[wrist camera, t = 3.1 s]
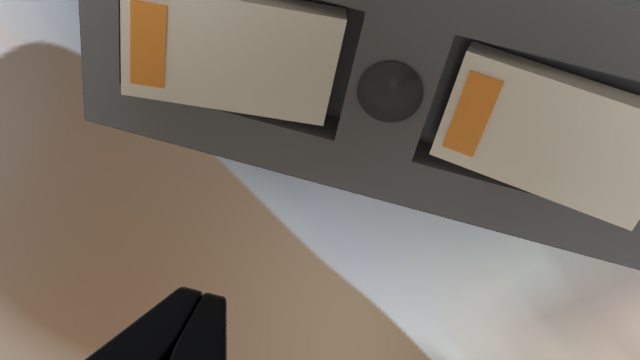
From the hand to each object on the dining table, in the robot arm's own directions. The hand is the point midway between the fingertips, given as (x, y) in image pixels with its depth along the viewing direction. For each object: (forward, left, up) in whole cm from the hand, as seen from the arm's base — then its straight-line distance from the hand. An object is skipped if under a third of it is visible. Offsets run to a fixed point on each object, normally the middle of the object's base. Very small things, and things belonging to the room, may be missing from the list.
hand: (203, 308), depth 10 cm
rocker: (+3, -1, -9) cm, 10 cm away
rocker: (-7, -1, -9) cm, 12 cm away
